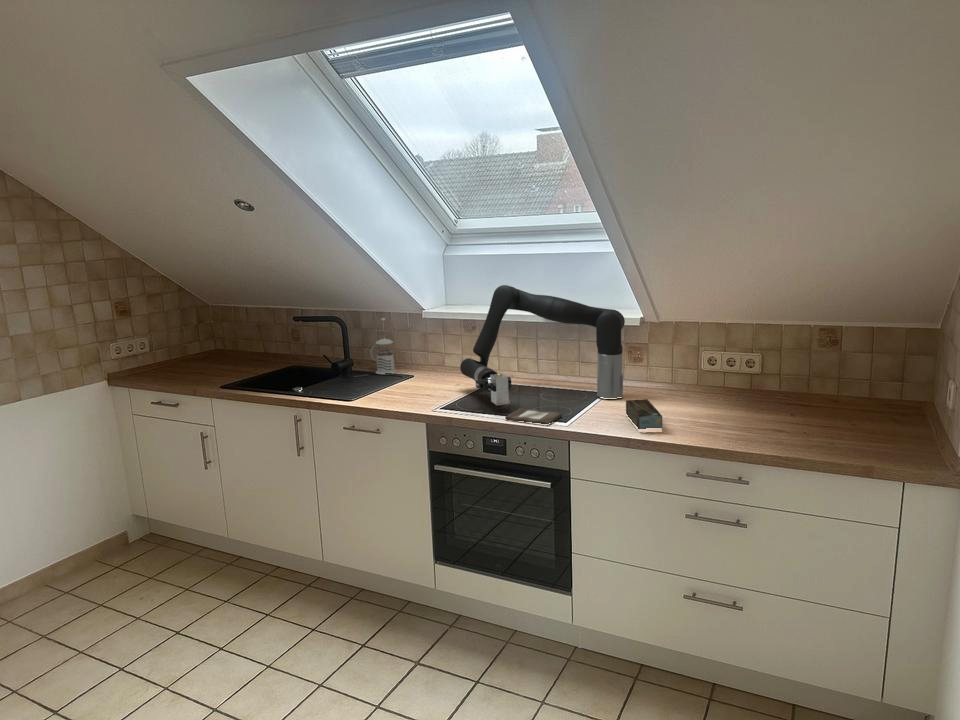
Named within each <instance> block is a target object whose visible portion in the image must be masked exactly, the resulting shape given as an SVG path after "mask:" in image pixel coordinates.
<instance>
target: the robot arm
mask: <svg viewBox="0 0 960 720" xmlns="http://www.w3.org/2000/svg"><path fill="white" fill-rule="evenodd" d="M508 310H513V311H521V312H527V313H529V314H533V315H535V316H538V317H540V318H543V319H545V320H548V321H553V322H557V323H560V324H569V325H585V326H589V327H590V326H591V327H594V328H596V329H595V330H596V331H595V332H596V333H595V334H596V335H595V336H596V337H595V338H596V339H595V340H596V348H597V365H596V366H597V370H596V371H597V374H596V375H597V377H596V378H597V379H596V388H597V389H596V397H597V396H599V397H604V398H617V397H624V373H623V350H624V349H623V347H624V346H623V345H622V329H623V328H624V327H625V324H626V323H625V322H626V319H625V317H624V315H623V314H622V313H621V312H620V311H619V310H616V309H613V308H612V309H610V308H603V307H596V306H590V305H587V304H583V303H580V302H577V301H573V300H570V299H567V298H562V297H558V296H554V295H553V296H552V295H545V294H534V293H531V292H528V291H527V292H526V291H524V290H522V289H519V288H517V287H514V286H512V285H508V284H502V285H499V286H498V287H496V288H495V290H494V292H493V294H492V298H491V301H490V305H489V309H488V312H487V315H486V318H485V320H484V322H483V323H484V324H483V325H482V329H481V330H480V333H479V335H478V337H477V339H476V342H475V343H474V346H473V349H472V352H473V354H475V355H477V356H478V357H479V358H480V360H479V361H478V360H477V359H473V358H470V357H468V358H465V359H463V360H462V361H461V362H460V365H459V366H460V367H459V368H460V369H459V370H460V373H461V374H462V375H464V376H466V377H468V378H469V379H472V380H474V381H475V388H477V389H480V390H483V391H491V390H492V391H494V392H496V386H495V385H494V384H492V383H491V378H490V375H491V374H498V372H497V371H496V370H493V368H490V367H488V364H489V359H490V356H491V352H492V351H493V348H494V347H495V343H496V342H497V338H498V335H499V331H500V327H501V323H502V321H503V318H504V316H505V314H506V313H507V312H508ZM507 377H508V391H510V389H511V388H512V378H511V376H507Z"/></svg>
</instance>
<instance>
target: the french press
mask: <svg viewBox="0 0 960 720" xmlns="http://www.w3.org/2000/svg"><path fill="white" fill-rule="evenodd" d="M380 321H381V322H382V324H383V325H382V326H383V330H385V325H384V324H385V323H384V321H386V318H385V317H382V318H381V319H380ZM393 343H394V341H393V340H391V339H388V338H386V337H383V338H381V339H378V340H376V341H375V345H373V346H372V347H371V348H370V350H369V351H370V353H369V354H371V355H370V358H371V359H372V360H373V361H375V362H376V371H375V374H378V375H386V374H385V373H390V372H394V371H397V370H396V369H395V358H394V355H395V354H394V353H393V352H394V350H393V349H386V346H387V345H388V346H389V345H393ZM379 345H381V346H383V347H384V349H379V350H377V351H376V353H377V355H376V358H375V357H374V355H373V353H372V351H373V349H374V348H375V349H378V346H379Z"/></svg>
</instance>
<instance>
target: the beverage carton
mask: <svg viewBox="0 0 960 720" xmlns="http://www.w3.org/2000/svg"><path fill="white" fill-rule="evenodd" d="M626 414H627V415H628V417H629V418H630V419H631V420H632V422H633V423H634V424H635V425H636V426H637V427H638V429H646V428H662V429H663V415H662V414H661V413H660V412H659V410H658V409H657V408H656V407H655V406H654V405H653V404H652V402H651V401H649V399H647V398H645V399H627V400H626V401H625V415H626Z"/></svg>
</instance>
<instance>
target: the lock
mask: <svg viewBox="0 0 960 720" xmlns="http://www.w3.org/2000/svg"><path fill="white" fill-rule="evenodd" d="M497 373H498V372H497ZM508 377H509V376H507V375H506V374H504V373H502V372H501V373H498V374H491V375H490V378H491V383H492V384H494V385H495V386H496V392H494V391H492V390H490V402H491V403H493V404H494V405H495V406H502V405H509V402H510V401H509V400H510V399H509V390H508Z"/></svg>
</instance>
